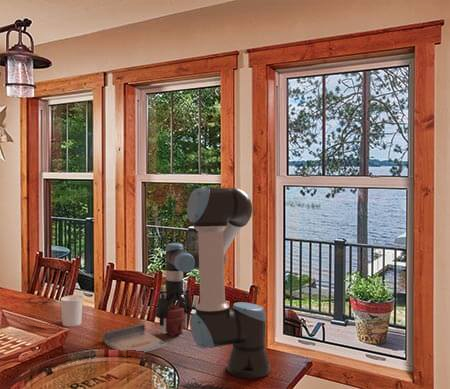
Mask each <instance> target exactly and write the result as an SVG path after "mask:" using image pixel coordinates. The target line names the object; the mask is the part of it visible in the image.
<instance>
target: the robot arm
mask: <svg viewBox="0 0 450 389" xmlns="http://www.w3.org/2000/svg"><path fill="white" fill-rule="evenodd" d="M186 207H187V208H186V209H187V210H186V211H187V212H186V214H187V219H188V220H189V222H191V223H192V224H193V229H195V230H196V231H197V234H198V237H197V238H198V250H192V251H191V250H189V251H184V245H183V243H179V242H173V243H171V242H170V243H167V244H166V245H165V252H164V253H165V279H166V280H165V291H164V293H161V292H160V293H159V294H158V298H159V299H158V303H157V306H156V310H155V316H154V317H155V318H158V319H159V326H160V333H162V334H164V335H165V334H166V333H167V332H166V318H164V317H165V315H166V313H167V310H168V308H169V306H171V304H172V303H173V302H178V304H179V306H181V307H183V308H184V314H185V315H186V319H185V320H184V321H182V329H183V328H184V329H188V320H189V326H190V327H189V328H190V331H191V332H190V333H191V335H192V339H193V341H194V343H195V344H196V346H197V347H199V348H200V349H214V348H218V347H224V346H230V345H231V346H232V347H231V351H230V355H229V359H228V360H227V363H226V364H227V367H226V370H227V372H228V373H229V374H231V376H234V377H237V378H242V379H247V380H248V379H249V380H251V379H260V378H263V377H265V376H267V375H269V373H270V372H271V363H270V361H269V357H268V353H267V350H266V328H267V327H266V326H267V324H266V323H267V318H266V310H265V309H264V307H263V306H260V305H258V304H255V303H252V302H251V303H250V302H242V301H240V302H235V303H233V304H232V308H230V304H229V303H227V301H226V288H225V284H226V283H225V264H226V260H227V258H226V252H227V250H228V249H229V247H230V246H231V245H232V242H234V239H235V238H236V236H237V235H238V233H240V232H239V231H240V230H241V229H242V228H243V227H245V226H246V225H247V224H248V223H249V221H250V220H251V218H252V214H253V205H252V201H251V199H250V197H249V195H248V194H247V193H246V192H245V191H243V190H241V188H237V187H200V188H195V189H194V190H193V191H192V192H191V193H190V196H189V198H188V202H187V206H186ZM192 270H198V271H199V272H198V273H199V274H198V275H199V303H198V304H197V305H196V306H195V313H194V312H193V313H192V314H190V312H192V311H193V306H192V303H191V298H190V290H189V289H187V288H184V280H183V279H184V273H189V272H191V271H192ZM183 288H184V289H183ZM183 297H184V298H183ZM189 314H190V319H189Z"/></svg>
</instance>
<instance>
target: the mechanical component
mask: <svg viewBox="0 0 450 389" xmlns="http://www.w3.org/2000/svg"><path fill="white" fill-rule="evenodd" d="M164 318H166V333H167V334H169V336H170V337H171V338H172V337H175V336H177V335H181V334H182V333H183V327H182V321H184V320H185V319H186V315H185V314H184V308H183V307H181V305H178V304H172V305H171V304H170V306H169V308H168V310H167V313H166V315H165V317H164Z"/></svg>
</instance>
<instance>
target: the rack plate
mask: <svg viewBox="0 0 450 389" xmlns="http://www.w3.org/2000/svg"><path fill="white" fill-rule="evenodd" d="M145 326H146V324H143V323H139V324H135V325H131V326H126V327H121V328H117V329H113V330H109V331H104V332H102V342H103V344H105V345H106V346H108V347H109V348H111V349H112V350H114V349H119V350H136V351H144V353H149V352H151V351H155V350H158V349H162V348H165V347H167V342H166V341H164V340H162V339H160V338H158V337H156V336H155V335H153V334H151V333H150V332H147V331H146V329H145Z"/></svg>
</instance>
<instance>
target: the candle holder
mask: <svg viewBox="0 0 450 389" xmlns="http://www.w3.org/2000/svg"><path fill="white" fill-rule="evenodd" d="M83 304H84V296H82V295H77V294H76V295H75V294H72V295H65V296H63V297H61V298H60V307H61V309H60V310H61V324H62V326H64V327H76V326H77V327H78V326H80V325H81V324H82V319H83Z"/></svg>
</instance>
